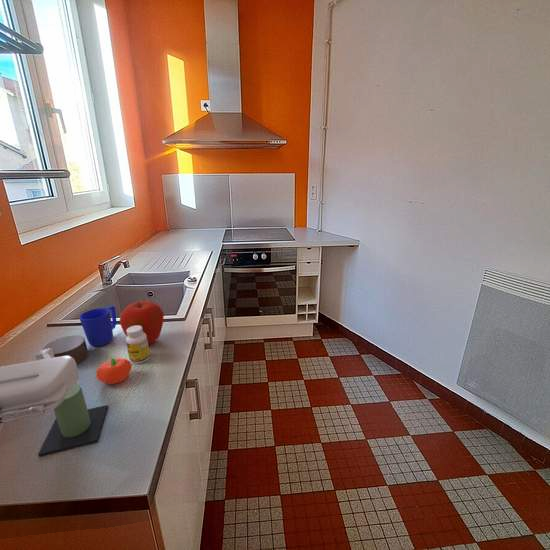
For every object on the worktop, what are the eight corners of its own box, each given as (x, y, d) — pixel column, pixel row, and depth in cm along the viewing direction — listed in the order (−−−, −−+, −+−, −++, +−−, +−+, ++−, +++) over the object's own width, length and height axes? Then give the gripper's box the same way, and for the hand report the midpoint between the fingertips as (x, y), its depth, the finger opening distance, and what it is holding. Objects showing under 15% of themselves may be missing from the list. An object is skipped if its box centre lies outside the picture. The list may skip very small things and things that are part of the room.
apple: (128, 358, 87) (119, 314, 82) (122, 340, 96) (113, 300, 92) (171, 344, 93) (165, 302, 88) (162, 329, 103) (155, 290, 98)
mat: (38, 456, 57) (37, 454, 57) (57, 417, 66) (56, 415, 66) (97, 442, 59) (97, 439, 59) (108, 406, 69) (107, 404, 68)
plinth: (41, 373, 81) (36, 357, 80) (55, 353, 90) (50, 338, 89) (83, 365, 84) (79, 350, 82) (92, 347, 93) (88, 332, 91)
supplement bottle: (125, 362, 85) (118, 331, 82) (140, 352, 90) (134, 322, 86) (140, 366, 83) (134, 334, 80) (154, 355, 88) (149, 325, 84)
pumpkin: (102, 374, 80) (97, 353, 78) (134, 368, 82) (130, 348, 80) (95, 392, 73) (89, 370, 71) (130, 385, 75) (125, 363, 73)
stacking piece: (57, 440, 59) (45, 403, 56) (66, 421, 64) (55, 386, 61) (87, 433, 61) (76, 397, 58) (93, 415, 65) (84, 380, 63)
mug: (129, 330, 102) (123, 303, 99) (104, 350, 91) (96, 320, 88) (107, 328, 104) (101, 302, 101) (80, 348, 93) (72, 318, 89)
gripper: (50, 385, 33) (85, 327, 45) (-210, 435, 27) (-89, 354, 40) (65, 430, 35) (94, 363, 47) (-175, 485, 29) (-70, 393, 42)
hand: (9, 359), depth 44 cm, fingers open, 8 cm apart
